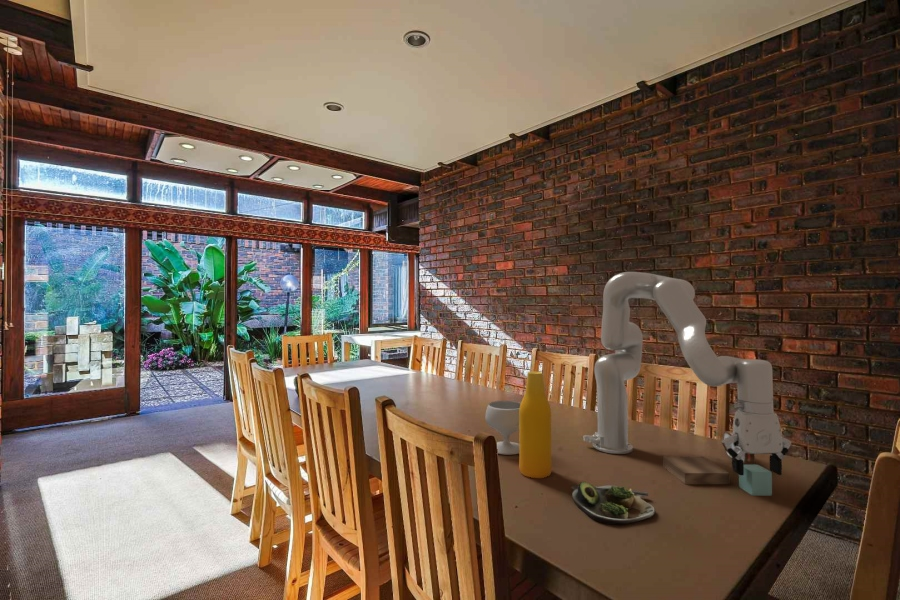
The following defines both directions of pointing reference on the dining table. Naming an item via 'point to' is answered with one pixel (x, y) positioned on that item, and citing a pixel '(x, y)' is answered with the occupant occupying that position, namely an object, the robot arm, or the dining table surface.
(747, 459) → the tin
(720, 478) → the walnut base
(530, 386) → the beer bottle
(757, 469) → the teal block
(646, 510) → the salad plate
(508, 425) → the chalice
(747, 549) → the dining table surface
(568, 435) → the dining table surface
